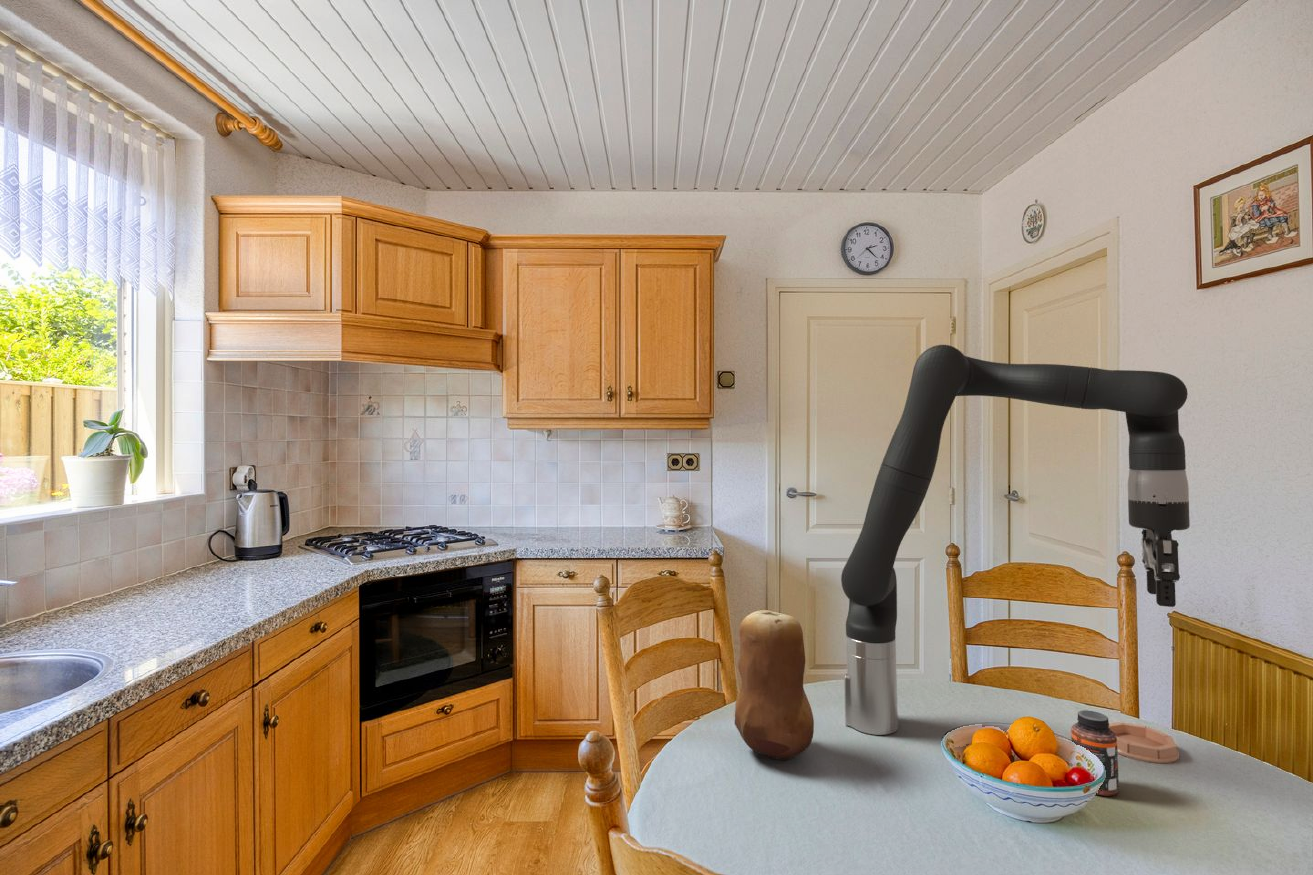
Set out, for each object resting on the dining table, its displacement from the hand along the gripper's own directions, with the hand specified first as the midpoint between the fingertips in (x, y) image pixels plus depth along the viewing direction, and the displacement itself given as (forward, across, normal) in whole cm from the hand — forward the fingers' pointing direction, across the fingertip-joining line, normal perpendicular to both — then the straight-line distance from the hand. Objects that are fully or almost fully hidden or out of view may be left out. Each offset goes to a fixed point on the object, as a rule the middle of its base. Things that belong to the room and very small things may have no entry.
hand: (1160, 599), depth 97 cm
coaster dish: (+29, -13, -2) cm, 32 cm away
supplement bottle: (+30, +6, -10) cm, 32 cm away
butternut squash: (+30, +21, -57) cm, 68 cm away
